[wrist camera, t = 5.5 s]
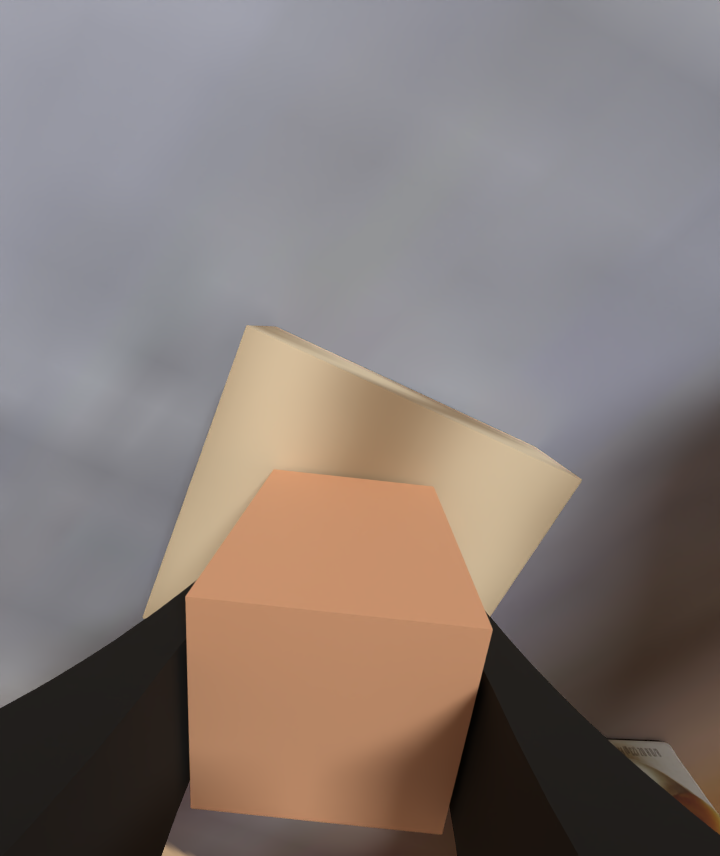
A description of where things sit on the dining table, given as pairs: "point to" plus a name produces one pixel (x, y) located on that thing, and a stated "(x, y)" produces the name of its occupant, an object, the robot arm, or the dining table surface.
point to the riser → (360, 459)
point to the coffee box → (670, 776)
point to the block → (334, 657)
